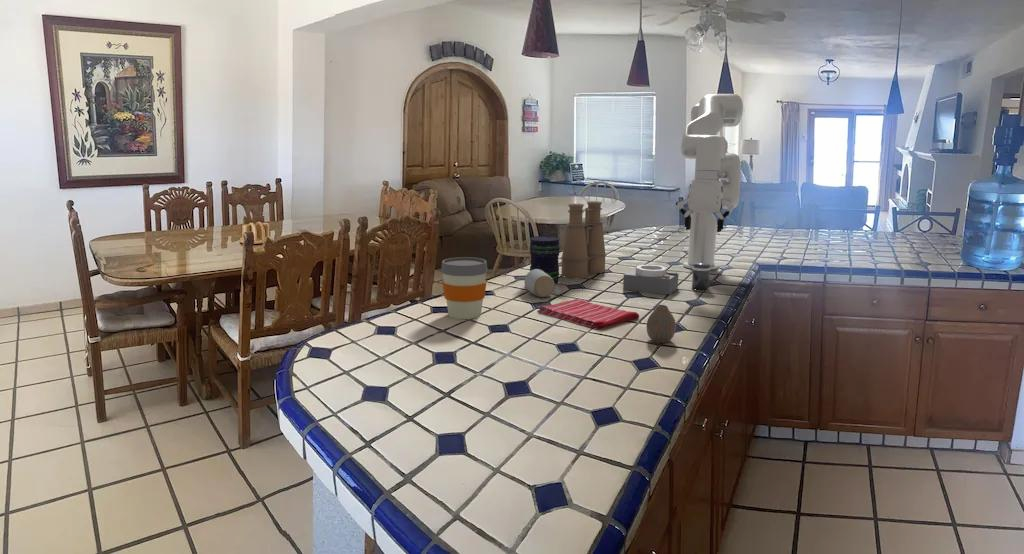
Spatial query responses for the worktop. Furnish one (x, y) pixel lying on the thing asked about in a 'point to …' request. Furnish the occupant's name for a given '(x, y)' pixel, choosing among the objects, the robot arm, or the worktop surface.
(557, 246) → the storage jar
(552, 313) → the dish towel
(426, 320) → the worktop surface
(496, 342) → the worktop surface
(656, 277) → the camera body
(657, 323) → the vase
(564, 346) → the worktop surface
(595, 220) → the binoculars
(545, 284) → the ceramic mug
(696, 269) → the lens
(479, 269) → the reusable coffee cup
